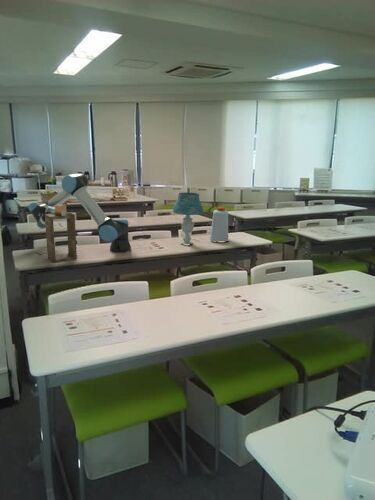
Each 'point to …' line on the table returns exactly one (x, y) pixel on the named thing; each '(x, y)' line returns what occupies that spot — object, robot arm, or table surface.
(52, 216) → the stand
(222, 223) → the plastic bottle
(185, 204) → the table lamp
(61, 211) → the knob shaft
